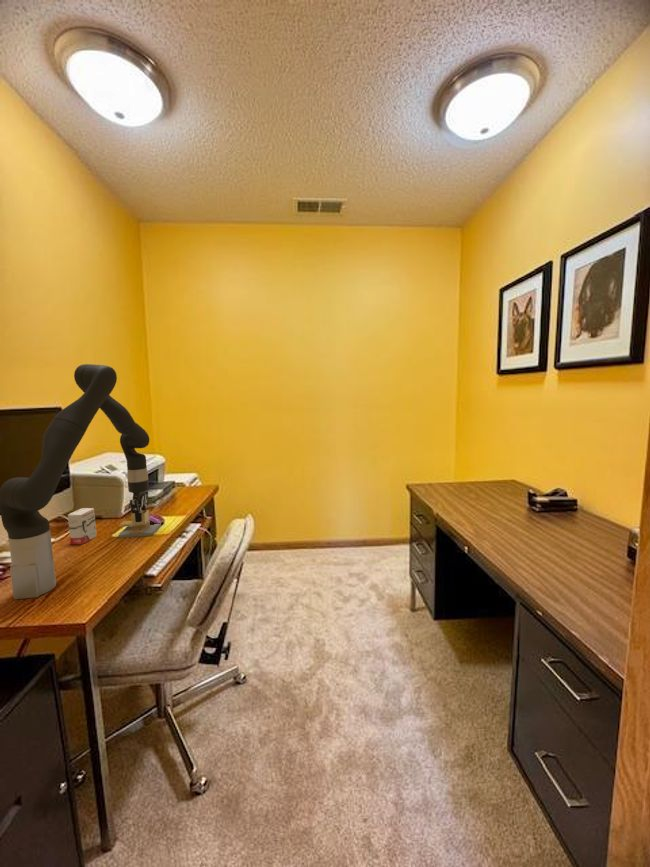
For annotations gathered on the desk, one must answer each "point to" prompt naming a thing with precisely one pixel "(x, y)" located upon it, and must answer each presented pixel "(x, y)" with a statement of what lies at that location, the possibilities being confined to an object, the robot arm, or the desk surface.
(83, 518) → the ink box
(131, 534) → the hinge base
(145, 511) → the beige flanged block
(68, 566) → the desk surface
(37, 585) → the robot arm
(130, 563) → the desk surface
